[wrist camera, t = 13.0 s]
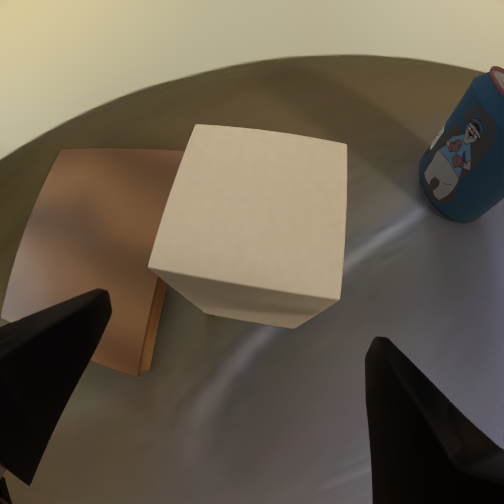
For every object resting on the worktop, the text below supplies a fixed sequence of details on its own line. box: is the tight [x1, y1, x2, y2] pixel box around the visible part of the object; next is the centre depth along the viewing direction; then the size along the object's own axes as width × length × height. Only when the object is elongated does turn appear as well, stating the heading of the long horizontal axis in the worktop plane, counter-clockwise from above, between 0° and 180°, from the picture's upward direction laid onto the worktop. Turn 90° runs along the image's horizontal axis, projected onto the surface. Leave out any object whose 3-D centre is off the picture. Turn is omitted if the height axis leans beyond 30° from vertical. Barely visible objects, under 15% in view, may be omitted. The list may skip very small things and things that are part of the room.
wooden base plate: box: [1, 148, 185, 377], centre depth 18 cm, size 14×12×2 cm
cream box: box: [148, 124, 347, 329], centre depth 13 cm, size 6×6×10 cm
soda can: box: [419, 66, 504, 223], centre depth 15 cm, size 7×7×12 cm
